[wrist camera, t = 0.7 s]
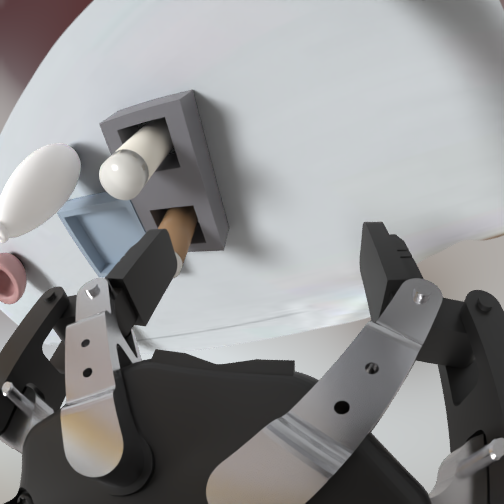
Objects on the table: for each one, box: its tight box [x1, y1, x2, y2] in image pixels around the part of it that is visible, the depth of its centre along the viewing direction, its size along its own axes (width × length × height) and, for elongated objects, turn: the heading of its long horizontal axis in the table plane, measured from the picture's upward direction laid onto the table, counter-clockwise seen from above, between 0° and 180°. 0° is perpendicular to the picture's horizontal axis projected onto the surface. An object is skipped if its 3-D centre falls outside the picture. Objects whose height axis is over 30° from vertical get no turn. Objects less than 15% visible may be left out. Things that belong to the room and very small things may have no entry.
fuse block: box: [100, 90, 229, 252], centre depth 29 cm, size 18×9×4 cm, turn 9°
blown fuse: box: [158, 205, 199, 278], centre depth 30 cm, size 4×4×10 cm
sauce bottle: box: [0, 143, 81, 243], centre depth 23 cm, size 8×8×18 cm
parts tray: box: [57, 192, 146, 277], centre depth 37 cm, size 14×14×3 cm
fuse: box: [99, 117, 174, 200], centre depth 23 cm, size 4×4×10 cm
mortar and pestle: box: [0, 253, 26, 304], centre depth 44 cm, size 12×12×11 cm
